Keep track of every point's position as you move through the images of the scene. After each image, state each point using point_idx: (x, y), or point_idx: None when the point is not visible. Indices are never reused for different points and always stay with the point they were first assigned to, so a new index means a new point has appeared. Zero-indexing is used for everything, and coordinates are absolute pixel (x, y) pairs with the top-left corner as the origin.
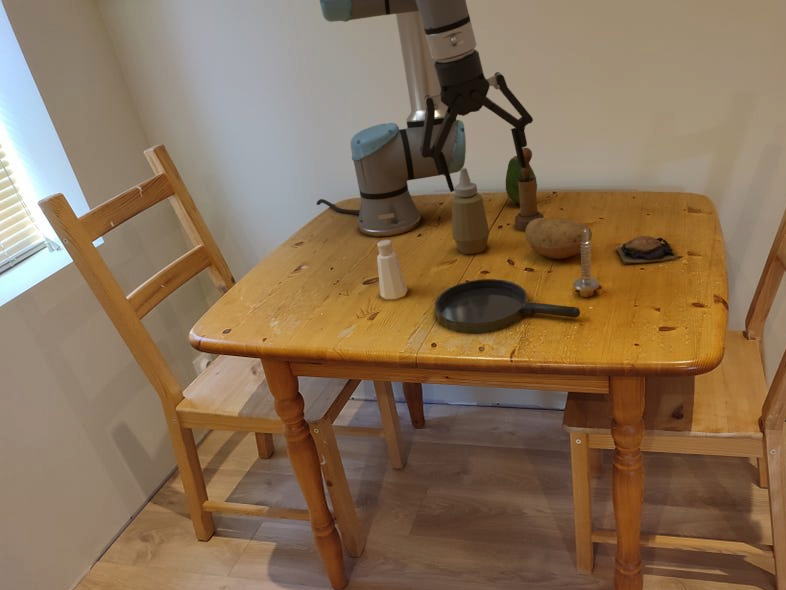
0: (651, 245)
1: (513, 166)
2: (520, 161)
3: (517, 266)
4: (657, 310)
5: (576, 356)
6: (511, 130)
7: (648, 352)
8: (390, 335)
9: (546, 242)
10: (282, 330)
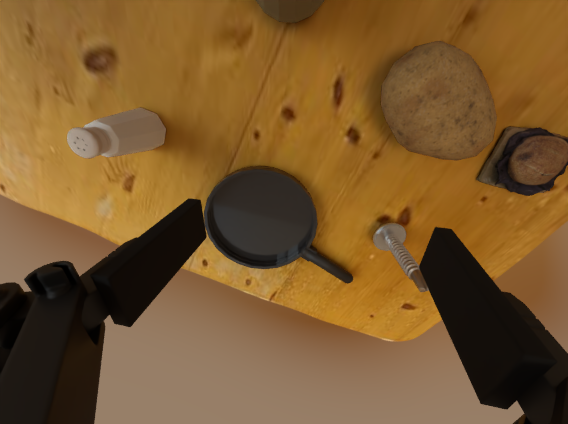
0: (539, 181)
1: None
2: (428, 277)
3: (342, 114)
4: None
5: (320, 314)
6: (514, 355)
7: (373, 325)
8: None
9: (400, 138)
10: (14, 173)
